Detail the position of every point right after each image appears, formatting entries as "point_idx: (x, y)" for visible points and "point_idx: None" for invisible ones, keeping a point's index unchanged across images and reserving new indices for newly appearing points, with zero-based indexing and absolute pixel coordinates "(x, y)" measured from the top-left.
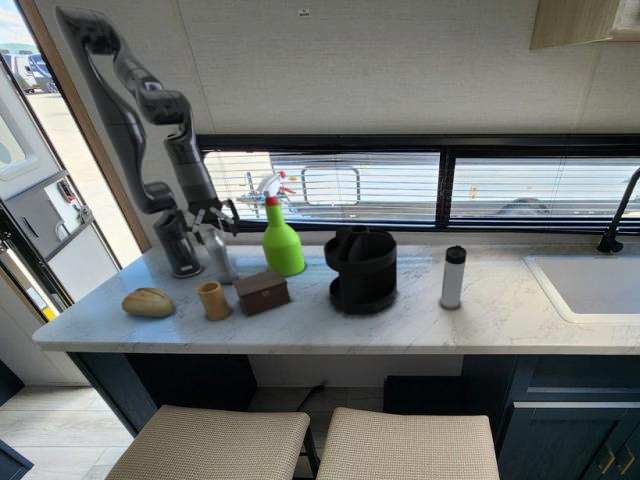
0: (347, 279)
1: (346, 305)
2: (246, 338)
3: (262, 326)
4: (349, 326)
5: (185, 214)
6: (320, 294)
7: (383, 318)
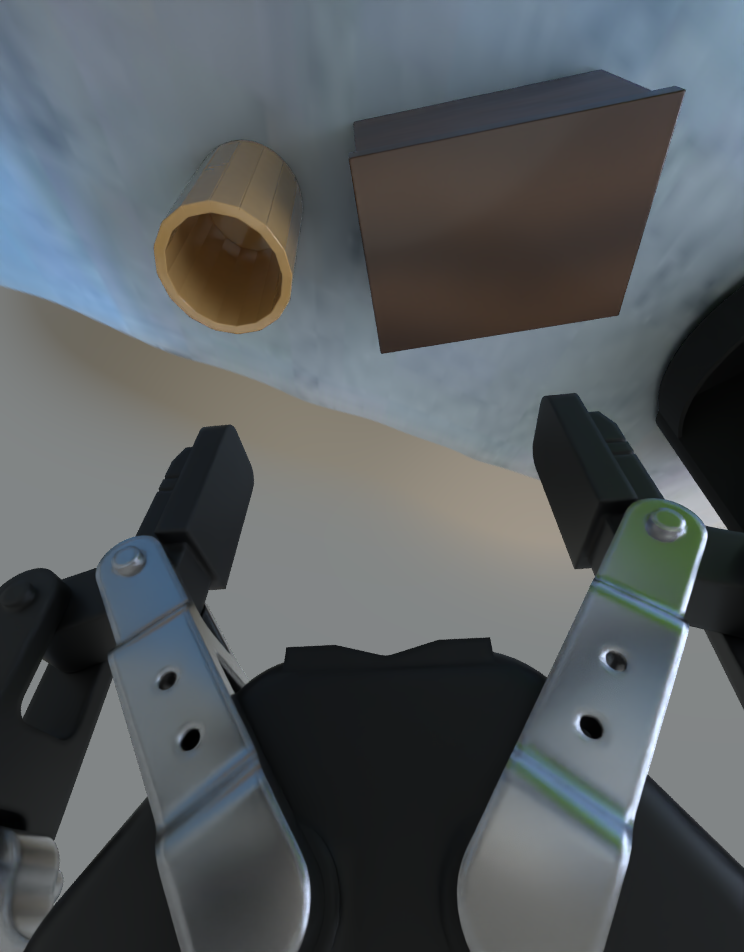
0: None
1: (674, 450)
2: (360, 398)
3: (415, 365)
4: None
5: (31, 888)
6: (704, 253)
7: None
